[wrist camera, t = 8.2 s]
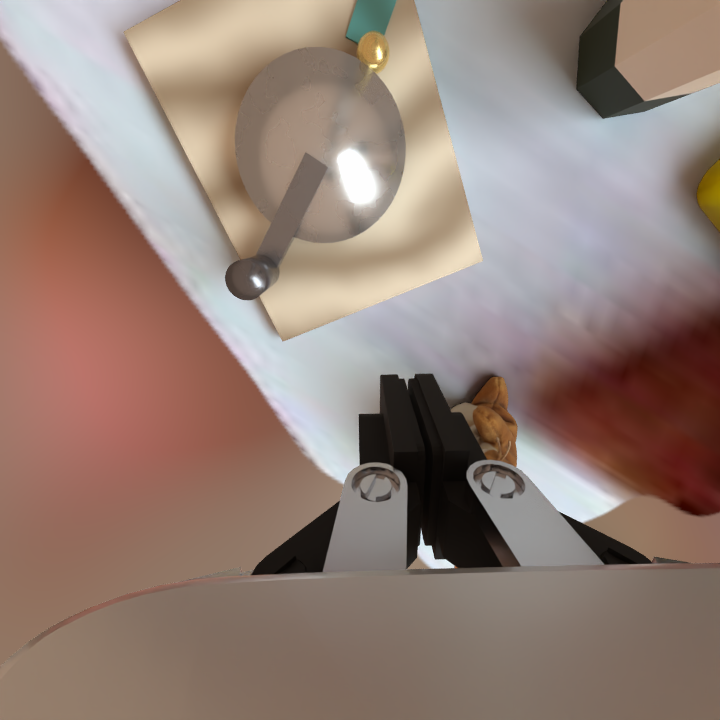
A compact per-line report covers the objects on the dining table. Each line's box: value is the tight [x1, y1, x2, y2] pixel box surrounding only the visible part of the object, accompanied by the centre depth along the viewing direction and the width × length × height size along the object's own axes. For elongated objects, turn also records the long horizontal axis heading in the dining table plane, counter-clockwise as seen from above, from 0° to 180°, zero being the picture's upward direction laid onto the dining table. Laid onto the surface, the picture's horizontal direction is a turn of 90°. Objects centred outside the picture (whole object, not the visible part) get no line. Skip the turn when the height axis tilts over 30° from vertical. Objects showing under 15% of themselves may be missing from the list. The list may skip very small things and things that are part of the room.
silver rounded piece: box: [225, 31, 406, 300], centre depth 24 cm, size 19×12×7 cm, turn 149°
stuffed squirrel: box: [450, 377, 517, 467], centre depth 32 cm, size 10×14×13 cm
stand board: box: [124, 0, 483, 341], centre depth 27 cm, size 24×19×2 cm
